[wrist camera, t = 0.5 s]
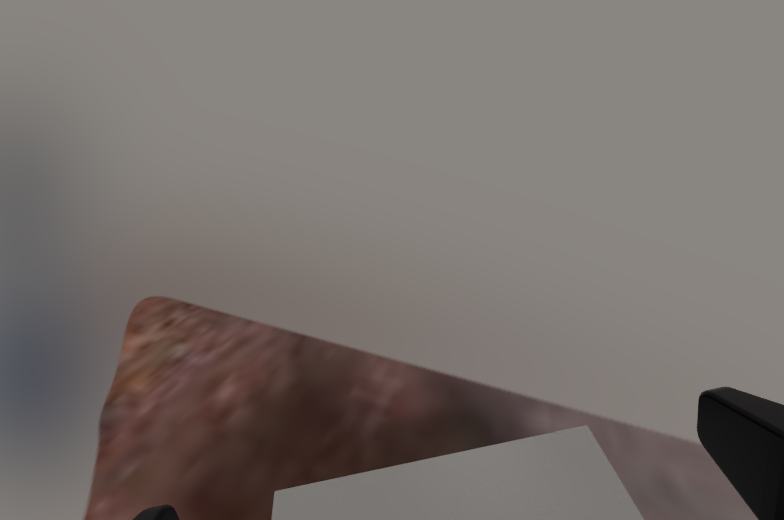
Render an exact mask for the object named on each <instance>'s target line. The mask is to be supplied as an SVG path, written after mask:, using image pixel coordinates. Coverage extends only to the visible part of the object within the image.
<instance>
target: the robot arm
mask: <svg viewBox="0 0 784 520" xmlns="http://www.w3.org/2000/svg"><path fill="white" fill-rule="evenodd" d="M697 432H698V436H699V439H700V441H701V443H702V445H703V446H704V448H705V449H706V450H707V452H708V453H709V454H710V456H711V457H712V458H713V460H714V461H715V462H716V464H717V465H718V466H719V468H720V469H721V470H722V472H723V473H724V474H725V476H726V477H727V478H728V480H729V481H730V482H731V484H732V485H733V486H734V488H735V489H736V490H737V492H738V493H739V494H740V496H741V497H742V498H743V500H744V501H745V502H746V504H747V505H748V506H749V508H750V509H751V510H752V512H753V513H754V514H755V516H756V517H757V518H758V520H784V405H782V404H779V403H776V402H773V401H770V400H767V399H764V398H761V397H758V396H755V395H752V394H749V393H746V392H742V391H739V390H736V389H733V388H730V387H721V388H716V389H711V390H706V391H704V392H702V393H701V395H700V396H699V403H698V421H697ZM133 520H179V518H178V515H177V513H176V511H175V509H174V508H173V507H172V506H171V505H162V506H157V507H152V508H148V509H145V510H143V511H142V512H141V513H139V514H138V515H137V516H136V517H135V518H134V519H133Z"/></svg>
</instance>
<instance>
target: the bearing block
mask: <svg viewBox="0 0 784 520" xmlns="http://www.w3.org/2000/svg"><path fill="white" fill-rule="evenodd" d="M272 520H644V519H643V517H642V516H641V514H640V512H639V511H638V509H637V507H636V506H635V504H634V502H633V501H632V499H631V497H630V496H629V494H628V492H627V491H626V489H625V487H624V486H623V484H622V482H621V481H620V479H619V477H618V476H617V474H616V472H615V471H614V469H613V467H612V466H611V464H610V463H609V461H608V459H607V458H606V456H605V454H604V453H603V451H602V449H601V448H600V446H599V444H598V443H597V441H596V439H595V438H594V436H593V434H592V433H591V431H590V429H589V428H588V426H587V425H585V426H580V427H576V428H571V429H566V430H561V431H557V432H552V433H547V434H542V435H538V436H533V437H528V438H524V439H519V440H514V441H509V442H505V443H500V444H495V445H490V446H486V447H481V448H476V449H472V450H467V451H462V452H457V453H453V454H448V455H443V456H439V457H434V458H429V459H424V460H420V461H415V462H410V463H405V464H401V465H396V466H391V467H387V468H382V469H377V470H372V471H368V472H363V473H358V474H353V475H349V476H344V477H339V478H335V479H330V480H325V481H320V482H316V483H311V484H306V485H302V486H297V487H292V488H287V489H283V490H278V491H275V493H274V502H273V511H272Z"/></svg>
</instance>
